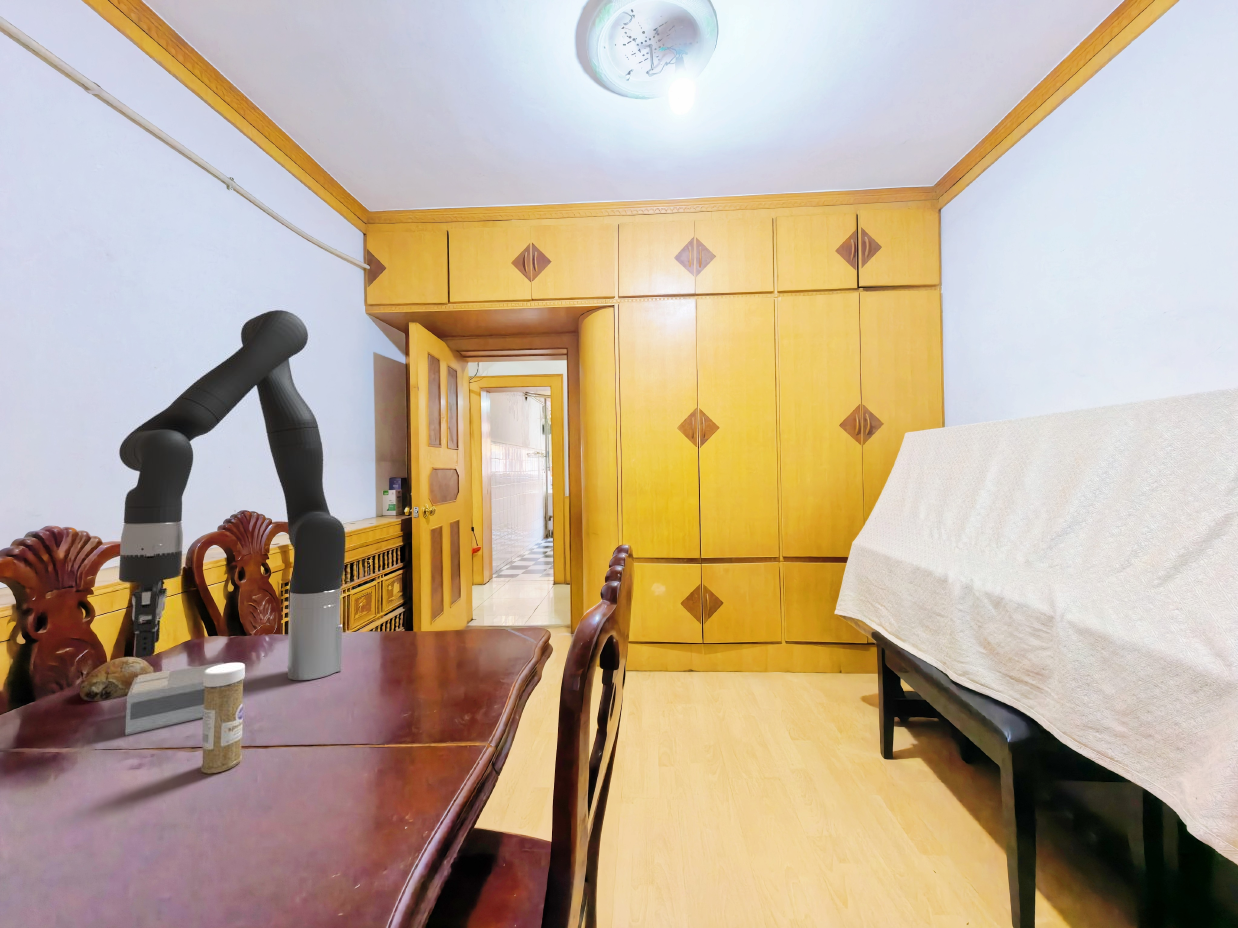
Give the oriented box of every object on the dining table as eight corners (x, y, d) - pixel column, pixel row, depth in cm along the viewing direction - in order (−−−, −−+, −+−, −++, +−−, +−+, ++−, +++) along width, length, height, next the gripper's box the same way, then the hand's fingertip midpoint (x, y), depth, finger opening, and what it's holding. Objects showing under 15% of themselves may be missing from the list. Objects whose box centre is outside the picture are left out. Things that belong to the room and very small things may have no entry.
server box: (222, 694, 93) (223, 659, 93) (223, 713, 85) (224, 675, 85) (133, 713, 85) (134, 675, 86) (124, 736, 77) (126, 694, 78)
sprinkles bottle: (240, 767, 68) (244, 668, 69) (197, 778, 66) (201, 675, 66) (243, 753, 72) (246, 658, 73) (202, 763, 70) (205, 665, 70)
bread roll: (154, 707, 96) (176, 663, 100) (92, 703, 88) (118, 655, 91) (122, 700, 100) (145, 658, 103) (59, 696, 91) (86, 650, 95)
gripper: (126, 548, 85) (121, 643, 85) (113, 556, 74) (108, 666, 74) (184, 544, 90) (180, 635, 89) (180, 552, 79) (175, 655, 78)
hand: (147, 649), depth 81 cm, fingers open, 8 cm apart
